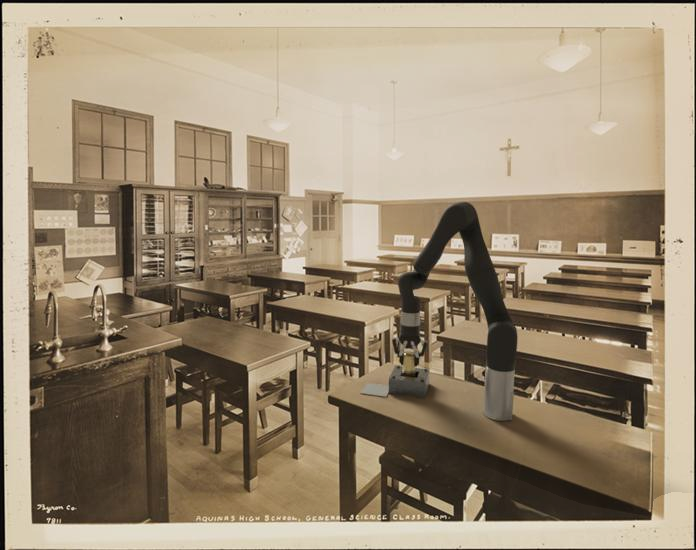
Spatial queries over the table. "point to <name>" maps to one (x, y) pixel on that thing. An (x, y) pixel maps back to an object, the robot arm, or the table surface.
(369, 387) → the rubber mat
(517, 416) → the table surface
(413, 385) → the grey square socket block
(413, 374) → the brass cylindrical shaft
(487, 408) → the robot arm
